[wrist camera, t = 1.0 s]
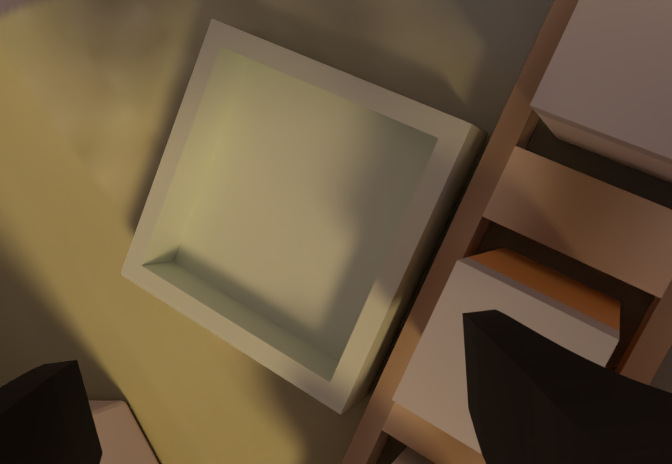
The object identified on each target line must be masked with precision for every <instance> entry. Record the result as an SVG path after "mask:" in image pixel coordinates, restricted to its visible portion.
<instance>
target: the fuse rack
mask: <svg viewBox="0 0 672 464" xmlns="http://www.w3.org/2000/svg"><path fill="white" fill-rule="evenodd" d="M578 1H579V0H554V2H553V4H552V6H551V8H550V10H549V12H548V15H547V17H546V19H545V21H544V23H543V25H542V28H541V30H540V32H539V34H538V36H537V38H536V41H535V43H534V45H533V47H532V49H531V51H530V54H529V56H528V58H527V60H526V62H525V64H524V67H523V69H522V71H521V73H520V75H519V78H518V80H517V82H516V84H515V86H514V88H513V91H512V93H511V95H510V97H509V99H508V101H507V104H506V106H505V108H504V110H503V112H502V114H501V117H500V119H499V121H498V123H497V125H496V127H495V130H494V132H493V134H492V136H491V138H490V140H489V143H488V145H487V147H486V149H485V151H484V153H483V156H482V158H481V160H480V162H479V164H478V166H477V169H476V171H475V173H474V175H473V177H472V180H471V182H470V184H469V186H468V188H467V190H466V193H465V195H464V197H463V199H462V201H461V203H460V206H459V208H458V210H457V212H456V214H455V216H454V219H453V221H452V223H451V225H450V227H449V229H448V232H447V234H446V236H445V238H444V240H443V242H442V245H441V247H440V249H439V251H438V253H437V255H436V258H435V260H434V262H433V264H432V266H431V268H430V271H429V273H428V275H427V277H426V279H425V282H424V284H423V286H422V288H421V290H420V292H419V295H418V297H417V299H416V301H415V303H414V305H413V308H412V310H411V312H410V314H409V316H408V318H407V321H406V323H405V325H404V327H403V329H402V331H401V334H400V336H399V338H398V340H397V342H396V344H395V347H394V349H393V351H392V353H391V355H390V357H389V360H388V362H387V364H386V366H385V368H384V370H383V373H382V375H381V377H380V379H379V381H378V384H377V386H376V388H375V390H374V392H373V394H372V397H371V399H370V401H369V403H368V405H367V407H366V410H365V412H364V414H363V416H362V418H361V420H360V423H359V425H358V427H357V429H356V431H355V433H354V436H353V438H352V440H351V442H350V444H349V446H348V449H347V451H346V453H345V455H344V457H343V459H342V462H341V464H376V463H377V461H378V459H379V457H380V455H381V453H382V451H383V449H384V447H385V444H386V442H387V440H388V438H389V436H390V435H391V436H392V437H394V438H396V439H397V440H399V441H400V442H402V443H403V444H405V445H407V446H408V447H410V448H411V449H413V450H415V451H416V452H418V453H419V454H421V455H423V456H424V457H426V458H427V459H429V460H431V461H432V462H434V463H435V464H486V462H485V460H484V458H483V456H482V454H480V453H479V452H477V451H475V450H474V449H472V448H470V447H469V446H467V445H465V444H464V443H462V442H461V441H459V440H457V439H456V438H454V437H452V436H451V435H449V434H447V433H446V432H444V431H442V430H441V429H439V428H437V427H436V426H434V425H432V424H431V423H429V422H428V421H426V420H424V419H423V418H421V417H419V416H418V415H416V414H414V413H413V412H411V411H409V410H408V409H406V408H404V407H403V406H401V405H400V404H398V403H396V402H395V401H393V400H392V398H393V396H394V394H395V392H396V390H397V388H398V385H399V383H400V381H401V379H402V377H403V375H404V373H405V370H406V368H407V366H408V364H409V362H410V360H411V358H412V356H413V353H414V351H415V349H416V347H417V345H418V343H419V341H420V338H421V336H422V334H423V332H424V330H425V328H426V326H427V323H428V321H429V319H430V317H431V315H432V313H433V311H434V309H435V306H436V304H437V302H438V300H439V298H440V296H441V294H442V291H443V289H444V287H445V285H446V283H447V281H448V279H449V277H450V274H451V272H452V270H453V268H454V266H455V264H456V262H457V260H459V259H463V258H466V257H470V256H474V255H475V254H476V252H477V250H478V248H479V246H480V244H481V242H482V240H483V238H484V235H485V233H486V231H487V229H488V227H489V225H490V223H491V221H493V222H496V223H498V224H500V225H502V226H504V227H507V228H509V229H511V230H513V231H515V232H517V233H520V234H522V235H524V236H526V237H528V238H530V239H533V240H535V241H537V242H539V243H541V244H543V245H546V246H548V247H550V248H552V249H554V250H557V251H559V252H561V253H563V254H565V255H567V256H570V257H572V258H574V259H576V260H578V261H580V262H583V263H585V264H587V265H589V266H591V267H594V268H596V269H598V270H600V271H602V272H604V273H607V274H609V275H611V276H613V277H615V278H617V279H620V280H622V281H624V282H626V283H628V284H630V285H633V286H635V287H637V288H639V289H641V290H644V291H646V292H648V293H650V294H652V295H654V296H655V297H654V299H653V300H652V302H651V304H650V306H649V308H648V310H647V311H646V313H645V315H644V317H643V319H642V321H641V323H640V324H639V326H638V328H637V330H636V332H635V334H634V335H633V337H632V339H631V341H630V343H629V345H628V347H627V348H626V350H625V352H624V354H623V356H622V358H621V360H620V361H619V363H618V365H617V367H616V369H615V371H614V372H616V373H618V374H621V375H623V376H625V377H628V378H630V379H633V380H636V381H639V382H641V383H644V384H647V385H650V383H651V381H652V379H653V377H654V376H655V374H656V372H657V370H658V368H659V367H660V365H661V363H662V361H663V359H664V358H665V356H666V354H667V352H668V350H669V349H670V347H671V345H672V210H671V209H669V208H666V207H664V206H662V205H659V204H657V203H654V202H652V201H649V200H647V199H644V198H642V197H639V196H637V195H635V194H632V193H630V192H627V191H625V190H622V189H620V188H617V187H615V186H613V185H610V184H608V183H605V182H603V181H600V180H598V179H595V178H593V177H590V176H588V175H586V174H583V173H581V172H578V171H576V170H573V169H571V168H568V167H566V166H564V165H561V164H559V163H556V162H554V161H551V160H549V159H546V158H544V157H542V156H539V155H537V154H534V153H532V152H529V151H527V150H525V149H526V147H527V145H528V143H529V140H530V138H531V136H532V134H533V132H534V130H535V128H536V126H537V124H538V121H539V119H540V117H539V116H538V115H537V113H536V112H535V111H534V110H533V108H532V107H531V106H530V104H531V102H532V99H533V97H534V95H535V93H536V91H537V89H538V87H539V84H540V82H541V80H542V78H543V76H544V74H545V72H546V69H547V67H548V65H549V63H550V61H551V59H552V57H553V55H554V52H555V50H556V48H557V46H558V44H559V42H560V40H561V37H562V35H563V33H564V31H565V29H566V27H567V25H568V22H569V20H570V18H571V16H572V14H573V12H574V10H575V8H576V5H577V3H578Z"/></svg>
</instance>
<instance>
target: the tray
mask: <svg viewBox="0 0 672 464" xmlns="http://www.w3.org/2000/svg"><path fill="white" fill-rule="evenodd" d="M486 136H487V133H486V132H484V131H483V130H481V129H479V128H478V127H476V126H475V125H473V124H471V123H469V122H466V121H464V120H461V119H459V118H456V117H454V116H451V115H449V114H446V113H444V112H441V111H439V110H436V109H434V108H432V107H429V106H427V105H424V104H422V103H419V102H417V101H414V100H412V99H409V98H407V97H404V96H402V95H400V94H397V93H395V92H392V91H390V90H387V89H385V88H382V87H380V86H377V85H375V84H372V83H370V82H367V81H365V80H363V79H360V78H358V77H355V76H353V75H350V74H348V73H345V72H343V71H340V70H338V69H335V68H333V67H331V66H328V65H326V64H323V63H321V62H318V61H316V60H313V59H311V58H308V57H306V56H303V55H301V54H298V53H296V52H294V51H291V50H289V49H286V48H284V47H281V46H279V45H276V44H274V43H271V42H269V41H266V40H264V39H261V38H259V37H257V36H254V35H252V34H249V33H247V32H244V31H242V30H239V29H237V28H234V27H232V26H229V25H227V24H225V23H222V22H220V21H217V20H215V19H211V22H210V25H209V28H208V30H207V33H206V36H205V39H204V42H203V44H202V47H201V50H200V53H199V56H198V58H197V61H196V64H195V67H194V69H193V72H192V75H191V78H190V81H189V83H188V86H187V89H186V92H185V95H184V97H183V100H182V103H181V106H180V109H179V111H178V114H177V117H176V120H175V123H174V125H173V128H172V131H171V134H170V137H169V139H168V142H167V145H166V148H165V151H164V153H163V156H162V159H161V162H160V165H159V167H158V170H157V173H156V176H155V179H154V181H153V184H152V187H151V190H150V193H149V195H148V198H147V201H146V204H145V207H144V209H143V212H142V215H141V218H140V220H139V223H138V226H137V229H136V232H135V234H134V237H133V240H132V243H131V246H130V248H129V251H128V254H127V257H126V260H125V262H124V265H123V268H122V271H121V274H120V275H122V276H123V277H125V278H127V279H128V280H130V281H131V282H133V283H134V284H136V285H138V286H139V287H141V288H142V289H144V290H145V291H147V292H149V293H150V294H152V295H153V296H155V297H156V298H158V299H160V300H161V301H163V302H164V303H166V304H167V305H169V306H171V307H172V308H174V309H175V310H177V311H178V312H180V313H182V314H183V315H185V316H186V317H188V318H189V319H191V320H193V321H194V322H196V323H197V324H199V325H200V326H202V327H204V328H205V329H207V330H208V331H210V332H211V333H213V334H215V335H216V336H218V337H219V338H221V339H222V340H224V341H226V342H227V343H229V344H230V345H232V346H233V347H235V348H237V349H238V350H240V351H241V352H243V353H244V354H246V355H248V356H249V357H251V358H252V359H254V360H255V361H257V362H259V363H260V364H262V365H263V366H265V367H266V368H268V369H270V370H271V371H273V372H274V373H276V374H277V375H279V376H281V377H282V378H284V379H285V380H287V381H288V382H290V383H292V384H293V385H295V386H296V387H298V388H299V389H301V390H303V391H304V392H306V393H307V394H309V395H310V396H312V397H314V398H315V399H317V400H318V401H320V402H321V403H323V404H325V405H326V406H328V407H329V408H331V409H332V410H334V411H336V412H337V413H339V414H340V415H341V414H342V413H344V412H345V411H346V410H348V409H349V408H351V407H352V406H353V405H355V404H356V403H358V402H359V401H361V400H362V399H363V398H365V397H366V396H367V395H368V393H369V391H370V388H371V386H372V384H373V382H374V380H375V377H376V375H377V373H378V371H379V369H380V367H381V364H382V362H383V360H384V358H385V356H386V354H387V351H388V349H389V347H390V345H391V343H392V340H393V338H394V336H395V334H396V332H397V330H398V327H399V325H400V323H401V321H402V319H403V316H404V314H405V312H406V310H407V308H408V306H409V303H410V301H411V299H412V297H413V295H414V293H415V290H416V288H417V286H418V284H419V282H420V279H421V277H422V275H423V273H424V271H425V269H426V266H427V264H428V262H429V260H430V258H431V256H432V253H433V251H434V249H435V247H436V245H437V242H438V240H439V238H440V236H441V234H442V232H443V229H444V227H445V225H446V223H447V221H448V218H449V216H450V214H451V212H452V210H453V208H454V205H455V203H456V201H457V199H458V197H459V195H460V192H461V190H462V188H463V186H464V184H465V181H466V179H467V177H468V175H469V173H470V171H471V168H472V166H473V164H474V162H475V160H476V157H477V155H478V153H479V151H480V149H481V147H482V144H483V142H484V140H485V138H486Z"/></svg>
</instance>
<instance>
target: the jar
mask: <svg viewBox="0 0 672 464" xmlns="http://www.w3.org/2000/svg"><path fill="white" fill-rule="evenodd" d="M88 401H89V405H90V409H91V412H92V416H93V419H94V423H95V426H96V430H97V434H98V437H99V441H100V444H101V448H102V452H103V453H102V457H101V461H100V464H159V463H158V461H157V459H156V457H155V455H154V453H153V451H152V450H151V448H150V446H149V444H148V442H147V440H146V438H145V437H144V435H143V433H142V431H141V429H140V427H139V425H138V423H137V422H136V420H135V418H134V416H133V414H132V412H131V410H130V409H129V407H128V405H127V403H126V402H124V401H117V400H88Z"/></svg>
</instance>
